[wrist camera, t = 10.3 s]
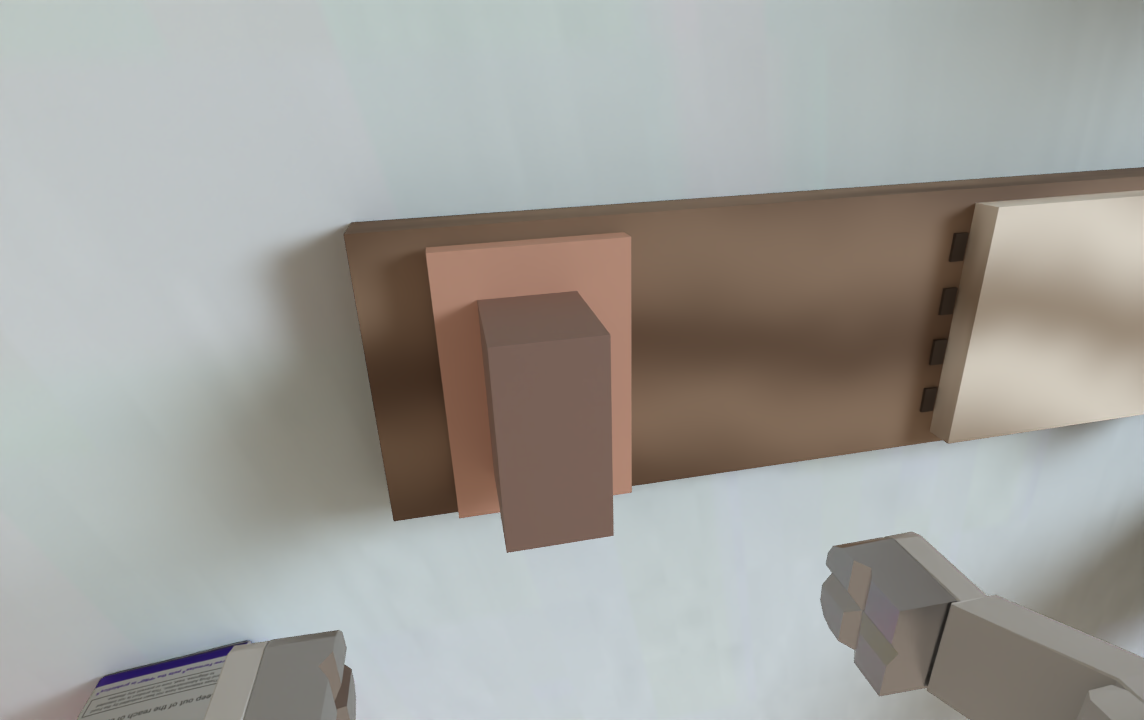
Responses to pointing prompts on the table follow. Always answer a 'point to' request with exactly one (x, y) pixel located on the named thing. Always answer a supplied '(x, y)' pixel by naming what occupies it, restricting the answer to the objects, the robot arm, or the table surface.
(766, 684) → the table surface
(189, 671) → the supplement box
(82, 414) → the table surface
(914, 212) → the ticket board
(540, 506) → the pink plate with handle
